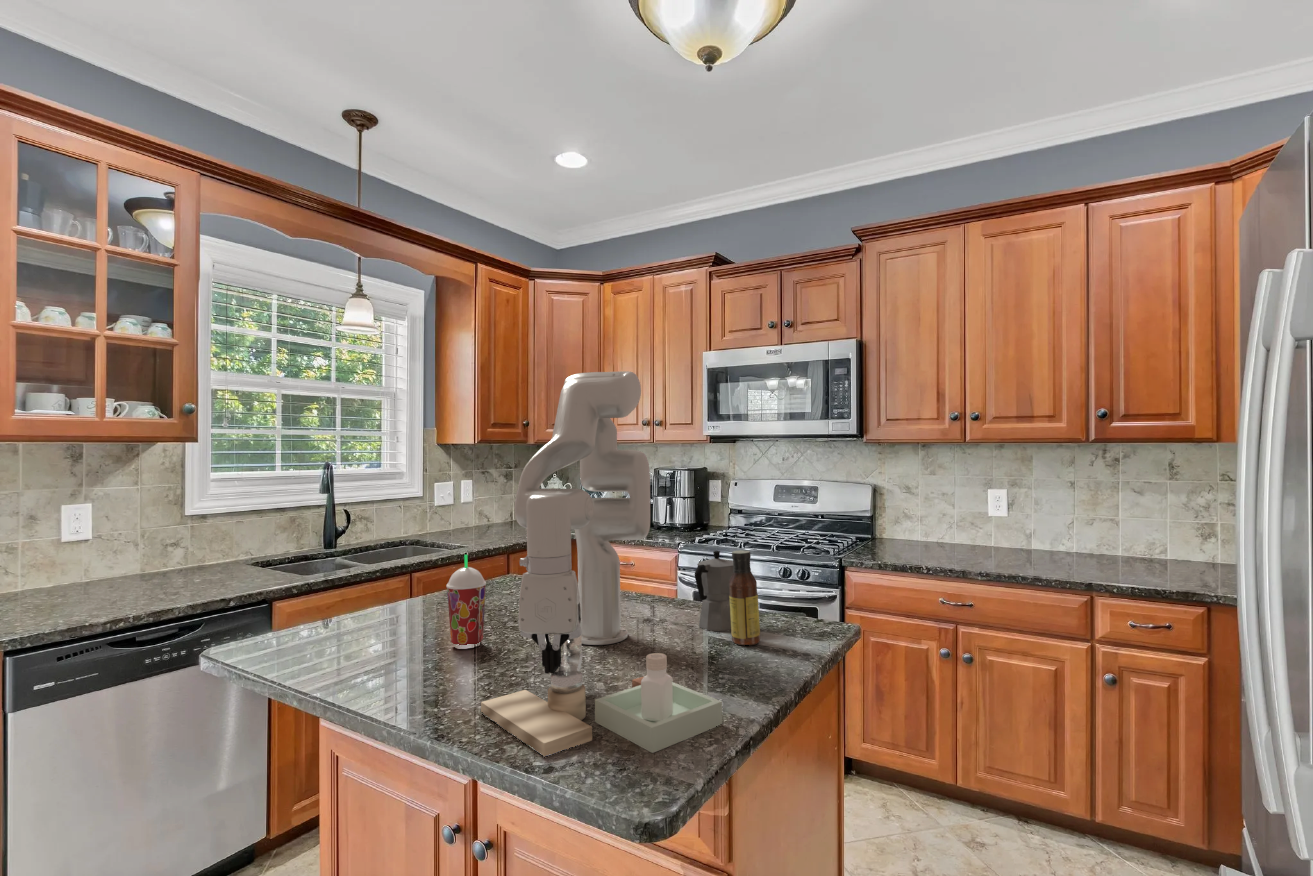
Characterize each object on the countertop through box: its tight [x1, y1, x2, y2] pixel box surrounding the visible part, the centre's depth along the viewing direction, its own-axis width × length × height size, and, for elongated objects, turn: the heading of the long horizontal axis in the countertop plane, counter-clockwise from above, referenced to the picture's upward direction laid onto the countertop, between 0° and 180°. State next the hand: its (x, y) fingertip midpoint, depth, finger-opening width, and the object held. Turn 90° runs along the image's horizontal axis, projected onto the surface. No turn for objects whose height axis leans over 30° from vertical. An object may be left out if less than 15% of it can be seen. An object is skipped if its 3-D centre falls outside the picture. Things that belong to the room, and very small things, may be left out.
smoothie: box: [446, 554, 487, 645], centre depth 143 cm, size 8×8×20 cm
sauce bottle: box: [729, 549, 761, 646], centre depth 142 cm, size 7×6×20 cm
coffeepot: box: [694, 550, 733, 632], centre depth 154 cm, size 15×9×18 cm, turn 142°
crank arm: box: [550, 635, 583, 694], centre depth 110 cm, size 16×5×5 cm, turn 2°
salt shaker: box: [641, 652, 673, 722], centre depth 101 cm, size 4×4×10 cm
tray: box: [594, 681, 723, 754], centre depth 101 cm, size 14×14×4 cm
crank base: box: [480, 676, 644, 756], centre depth 106 cm, size 20×27×4 cm
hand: (551, 670), depth 112 cm, fingers closed
